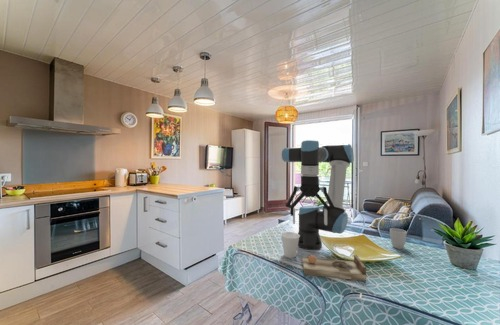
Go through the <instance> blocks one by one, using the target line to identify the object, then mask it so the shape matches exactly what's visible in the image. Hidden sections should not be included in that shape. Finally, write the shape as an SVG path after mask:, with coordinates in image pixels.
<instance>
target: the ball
mask: <svg viewBox="0 0 500 325" xmlns="http://www.w3.org/2000/svg"><path fill="white" fill-rule="evenodd" d="M307 257H308V261H309V262H310V263H312V264H313V263H315V262H316V258H317V257H316V256H315V255H314V254H310V255H309V256H307Z"/></svg>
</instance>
